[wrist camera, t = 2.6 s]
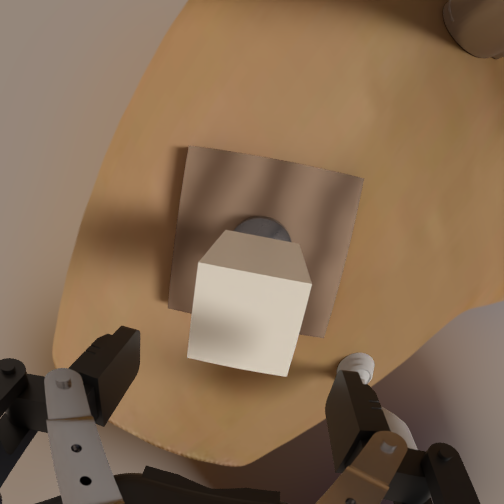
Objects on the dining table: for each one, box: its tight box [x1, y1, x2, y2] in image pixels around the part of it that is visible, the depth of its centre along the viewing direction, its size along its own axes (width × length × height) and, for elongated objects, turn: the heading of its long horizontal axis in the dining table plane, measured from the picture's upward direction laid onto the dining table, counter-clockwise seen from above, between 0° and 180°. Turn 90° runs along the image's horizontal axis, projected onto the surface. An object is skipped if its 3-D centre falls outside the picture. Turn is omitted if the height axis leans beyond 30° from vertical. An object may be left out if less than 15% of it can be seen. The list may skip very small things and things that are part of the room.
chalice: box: [337, 353, 418, 450], centre depth 30 cm, size 7×7×18 cm
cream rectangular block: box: [187, 230, 312, 377], centre depth 21 cm, size 6×6×9 cm
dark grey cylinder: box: [234, 216, 292, 242], centre depth 28 cm, size 6×6×10 cm
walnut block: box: [168, 146, 364, 338], centre depth 34 cm, size 18×18×2 cm
